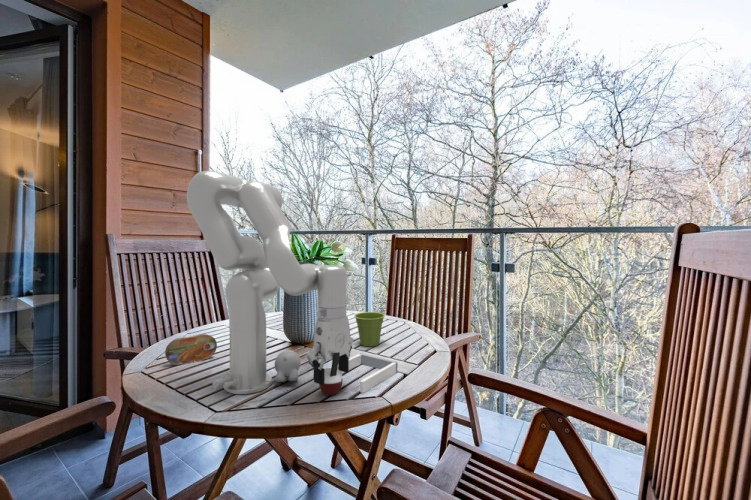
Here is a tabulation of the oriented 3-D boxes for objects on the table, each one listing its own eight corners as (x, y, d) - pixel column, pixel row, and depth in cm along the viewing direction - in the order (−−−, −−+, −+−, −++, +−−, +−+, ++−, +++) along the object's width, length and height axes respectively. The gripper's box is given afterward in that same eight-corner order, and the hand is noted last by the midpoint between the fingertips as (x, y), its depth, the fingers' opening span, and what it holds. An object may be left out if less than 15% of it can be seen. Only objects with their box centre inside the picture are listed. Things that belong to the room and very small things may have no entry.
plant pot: (360, 338, 143) (360, 311, 142) (388, 341, 139) (388, 313, 138) (349, 346, 132) (349, 317, 131) (379, 350, 128) (379, 319, 127)
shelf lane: (363, 393, 93) (363, 381, 92) (323, 380, 100) (323, 370, 100) (397, 371, 107) (397, 362, 107) (360, 362, 115) (360, 353, 115)
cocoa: (320, 387, 97) (319, 344, 97) (343, 386, 97) (342, 342, 97) (317, 402, 87) (315, 353, 87) (342, 400, 88) (340, 352, 88)
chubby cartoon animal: (301, 381, 106) (302, 352, 109) (299, 381, 95) (300, 348, 98) (276, 382, 105) (278, 352, 108) (272, 382, 94) (274, 349, 97)
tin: (166, 368, 109) (165, 341, 109) (164, 365, 112) (164, 339, 111) (217, 357, 119) (217, 333, 118) (214, 355, 121) (214, 331, 121)
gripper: (319, 320, 83) (319, 392, 83) (362, 308, 97) (362, 369, 98) (297, 316, 87) (297, 384, 87) (341, 305, 101) (341, 364, 102)
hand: (331, 376), depth 93 cm, fingers open, 9 cm apart
